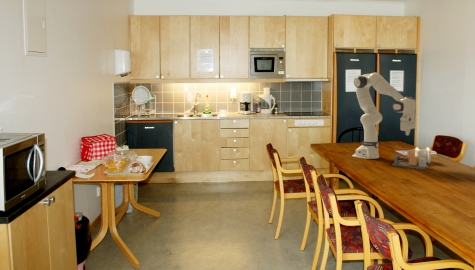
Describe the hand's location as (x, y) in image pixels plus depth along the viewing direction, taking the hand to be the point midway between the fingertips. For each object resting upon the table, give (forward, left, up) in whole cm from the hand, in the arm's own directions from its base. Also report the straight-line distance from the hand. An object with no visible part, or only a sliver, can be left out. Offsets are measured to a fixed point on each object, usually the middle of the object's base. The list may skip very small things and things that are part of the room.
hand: (407, 135), depth 350 cm
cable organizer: (+6, +18, -24) cm, 31 cm away
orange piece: (+7, -3, -22) cm, 23 cm away
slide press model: (+4, -3, -24) cm, 24 cm away
